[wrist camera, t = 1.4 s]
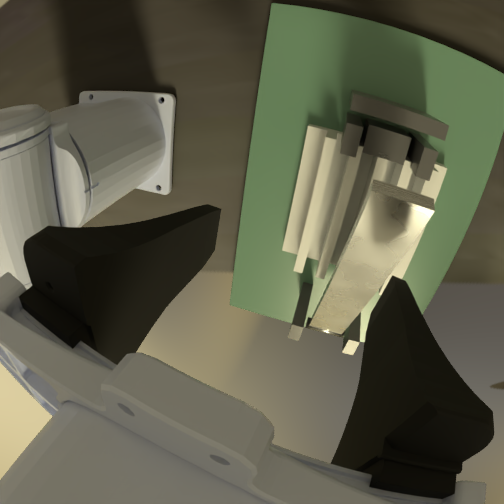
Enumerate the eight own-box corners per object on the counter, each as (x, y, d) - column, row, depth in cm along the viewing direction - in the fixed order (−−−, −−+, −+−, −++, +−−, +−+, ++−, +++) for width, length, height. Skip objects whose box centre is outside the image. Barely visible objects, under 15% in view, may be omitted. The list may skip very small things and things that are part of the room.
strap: (307, 319, 23) (304, 329, 22) (367, 175, 10) (366, 191, 10) (343, 328, 22) (341, 339, 22) (438, 198, 10) (439, 214, 10)
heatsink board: (232, 299, 29) (209, 343, 24) (274, 5, 15) (248, -16, 11) (398, 344, 26) (400, 393, 22) (510, 79, 13) (554, 87, 8)
